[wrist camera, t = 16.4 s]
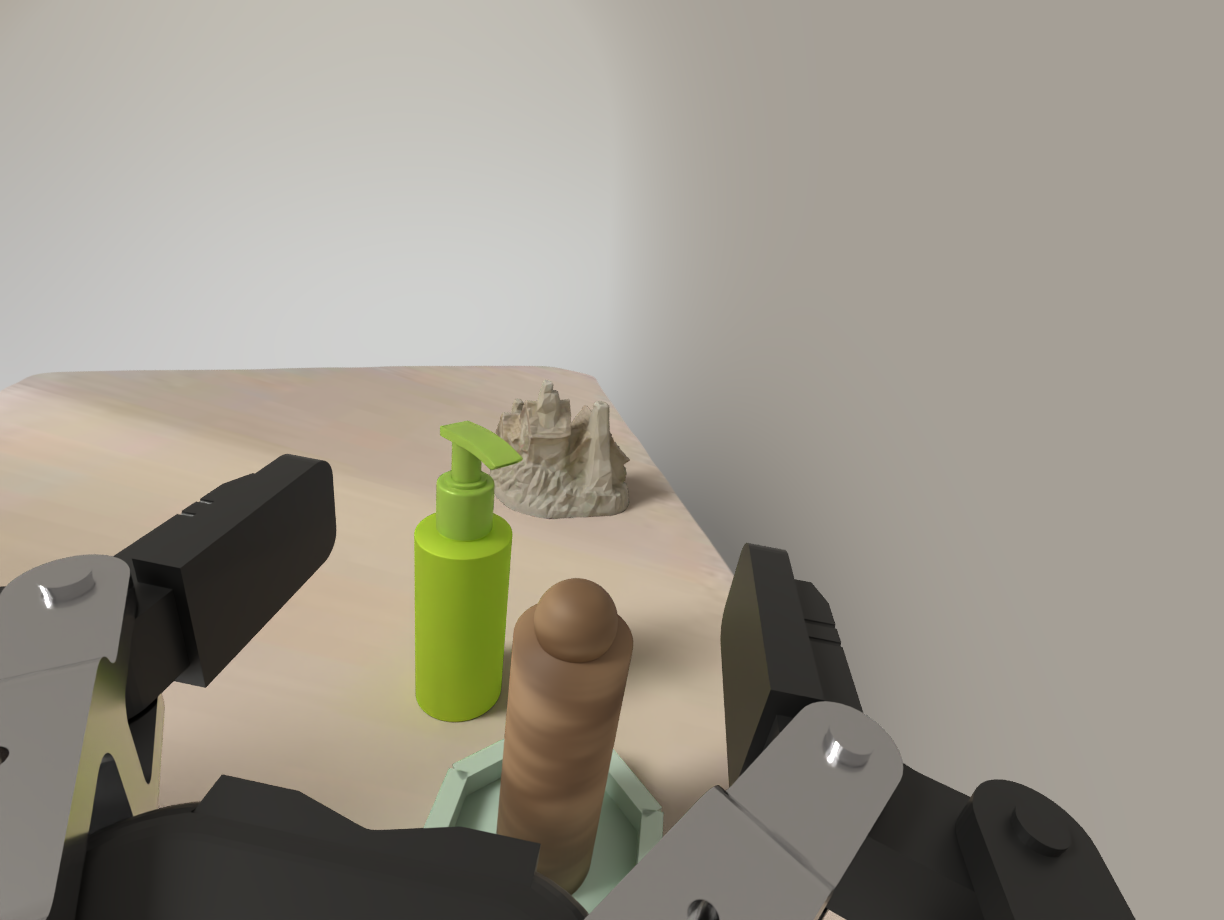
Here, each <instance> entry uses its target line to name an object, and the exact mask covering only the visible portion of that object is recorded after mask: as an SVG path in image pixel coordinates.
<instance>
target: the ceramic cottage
mask: <svg viewBox="0 0 1224 920" xmlns="http://www.w3.org/2000/svg"><path fill="white" fill-rule="evenodd" d="M523 405H524V406H523ZM609 430H610V426H609V405H608V404H607V403H606V402H602V401H596V402H595V403H594V405H593V409H592V411H591V410H590V409H589V407H588V406H586V405H585V406H584V407H583V408H582V410H581V411H580V412H579V413H578V414H577V416H576V417H575V418H574V420H573V421H572V422H571V412H570V400H569V399H566V400H560V398H559V394H558V391H556V390H553V383H552V382H551V381H548V380H544V381H543V384H542V387H541V390H540V393H539V396H538V400H537V401H529V400H526V401H525V403H523V401H522V400H521V399H515V400H514V402H513V406H512V411H511V413H507V412H503V413H502V415H501V417H500V422H499V424H498V427H497V429H496V434H497V435H498V436H499V437H501V438H502V439H503V440H505V441H506V442H507V443H508V444H509V445H510V446H511V447H512V448H513V449H515V450H516V451H517V453H518V454H519V455H520V456H521V457H522V458H523V460H522V461H521V462H519V463H516V464H513V465H509V466H506V467H502V468H499V469H495V470H490V474H489V475H490V476H491V477H492V478H493V480H494V483H495V490H494V492H495V495H496V496H497V498H498V499H499V500H500V501H501V502H503V503H504V505H505V506H507V507H508V508H510V509H512V510H514V511H517V512H520V513H523V514H526V515H530V516H534V517H539V518H546V519H548V518H552V519H557V518H569V517H572V518H575V517H591V516H592V517H594V516H611V515H616V514H618V513H621V512H623V511H625V509H626V508H627V507H628V503H629V499H628V488H627V484H626V483H625V482H624V481H625V478H626V468H625V467H624V464H625V463H627V462H628V461H630V459H629V458H628V457H626V455H625V454H624V453H623V452H622V451H621V450H620V448H619V446H618V445H617V444H616V442H614V440H613V438H612V437H611V436H612V434H611V433H610V431H609Z"/></svg>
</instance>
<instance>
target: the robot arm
mask: <svg viewBox="0 0 1224 920" xmlns="http://www.w3.org/2000/svg"><path fill="white" fill-rule="evenodd" d="M335 538H336V517H335V502H334V487H333V474H332V469H331V466H330V465H329V463H328V462H326V461H323V460H317V459H312V458H307V457H302V456H296V455H291V454H284V455H282V456H280V457H278V458H277V459H276V460H274V461H273V462H271V463H270V464H268V465H267V466H265V467H264V468H262V469H261V470H260V471H258V472H257V473H255V474H254V473H252V474H249V475H246V476H243V477H241V478H238V479H235V480H232V481H230V482H227V483H224V484H222V485H220V486H219V487H217V488H216V489H214V490H213V491H211V492H210V493H208V494H207V495H205V496H204V497H202V498H201V499H200V502H195V503H193V504H192V505H190V506H189V507H187V508H186V509H184V510H183V511H182V513H181V515H179V514H177V515H175V516H174V517H172V518H170V519H169V520H167V521H166V522H164V523H163V524H161V525H160V526H158V527H157V528H155V529H154V530H152V531H151V532H149V533H148V534H146V535H145V536H143V537H142V538H140V539H139V540H137V541H136V542H134V543H133V544H131V545H130V546H128V547H127V548H125V549H124V550H122V551H121V552H119V553H118V554H116V555H115V556H108V555H96V554H95V555H79V556H72V557H67V558H62V559H59V560H55V561H51V562H48V563H45V564H42V565H40V566H38V567H35V568H33V569H31V570H29V571H27V572H25V573H23V574H21V575H20V576H18V577H17V578H15V579H14V580H13V581H11V582H10V583H9V584H8V585H7V586H6V587H0V920H823V919H824V917H825V916H826V914H827V912H828V911H829V910H831V911H832V912H834V913H836V914H838V915H839V916H841V917H843V918H845V919H846V920H1135V918H1134V916H1133V914H1132V912H1131V910H1130V908H1129V907H1128V905H1127V903H1126V901H1125V899H1124V897H1123V896H1122V894H1121V892H1120V890H1119V888H1118V886H1117V885H1116V883H1115V881H1114V879H1113V877H1112V875H1111V874H1110V872H1109V870H1108V868H1107V866H1106V864H1105V862H1104V861H1103V859H1102V857H1101V855H1100V853H1099V851H1098V850H1097V848H1096V846H1095V845H1094V843H1093V841H1092V840H1091V838H1090V837H1089V836H1088V835H1087V833H1086V832H1085V831H1084V829H1083V828H1082V827H1081V826H1080V825H1079V824H1078V823H1077V822H1076V821H1075V820H1074V819H1073V818H1072V817H1071V816H1070V815H1069V814H1068V813H1067V812H1066V811H1065V810H1063V809H1062V808H1061V807H1060V806H1058V805H1057V804H1056V803H1054V802H1053V801H1052V800H1050V799H1048V798H1047V797H1045V796H1044V795H1042V794H1040V793H1039V792H1037V791H1035V790H1033V789H1031V788H1029V787H1026V786H1024V785H1022V784H1019V783H1015V782H1012V781H1007V780H989V781H986V782H983V783H981V784H980V785H979V786H978V787H977V788H976V790H975V791H974V793H973V794H972V796H971V797H969V796H967V795H965V794H963V793H960V792H958V791H956V790H954V789H952V788H950V787H948V786H946V785H944V784H942V783H939V782H937V781H935V780H933V779H931V778H929V777H927V776H924V775H923V774H921V773H918V772H917V771H915V770H913V769H912V768H910V767H909V766H906V765H905V764H903V762H902V758H901V755H900V752H899V750H898V748H897V746H896V744H895V743H894V741H893V740H892V738H891V737H890V736H889V734H888V733H887V732H886V731H885V730H884V729H883V728H882V727H881V726H880V725H879V724H878V723H877V722H875V721H874V720H872V719H871V718H870V717H868V716H867V715H865V714H864V713H863V711H862V707H861V704H860V701H859V698H858V695H857V692H856V688H855V685H854V682H853V679H852V676H851V673H850V669H849V666H848V663H847V660H846V657H845V654H844V650H843V648H842V647H841V646H840V645H841V641H840V638H839V635H838V631H837V629H835V622H834V619H833V616H832V613H831V609H830V606H829V603H828V602H827V601H826V600H825V598H824V597H823V596H822V595H821V594H820V592H819V591H818V590H817V589H816V588H815V586H814V585H813V584H812V583H811V582H806V581H800V580H795V579H794V576H793V572H792V568H791V564H790V560H789V556H788V553H787V551H786V550H781V549H776V548H771V547H766V546H760V545H755V544H750V543H746V544H745V545H744V547H743V548H742V551H741V555H740V558H739V561H738V564H737V568H736V571H735V574H734V578H733V581H732V585H731V588H730V591H729V595H728V598H727V602H726V605H725V609H724V613H723V618H722V625H721V657H722V674H723V691H724V707H725V724H726V741H727V758H728V775H729V789H727V790H726V791H725V790H724V789H723V788H722V787H720V786H719V785H717V786H714V787H713V788H711V789H710V790H708V791H707V792H706V793H705V794H704V795H703V796H702V797H701V798H700V799H699V800H698V801H697V802H696V803H695V804H694V805H693V806H692V807H691V808H690V809H689V810H688V811H687V812H686V813H685V815H684V816H683V817H682V818H681V819H680V820H679V821H678V822H677V823H676V824H675V825H674V826H673V827H672V828H671V829H670V830H669V831H668V832H667V833H666V834H665V835H664V836H663V837H662V839H661V840H660V841H659V842H658V843H657V844H656V845H655V846H654V847H653V848H652V849H651V850H650V851H649V852H648V853H647V854H646V855H645V856H644V857H643V858H642V859H641V860H640V861H639V863H638V864H637V865H636V866H635V867H634V868H633V869H632V870H631V871H630V872H629V873H628V874H627V875H626V876H625V877H624V878H623V879H622V880H621V881H620V882H619V883H618V884H617V885H616V887H615V888H614V889H613V890H612V891H611V892H610V893H609V894H608V895H607V896H606V897H605V898H604V899H603V900H602V901H601V902H600V903H599V904H598V905H597V906H596V907H595V908H594V909H593V911H592V912H591V913H590V914H589V913H588V912H587V911H586V909H585V908H584V907H583V906H582V905H581V904H580V903H579V902H578V901H577V900H576V899H575V898H574V897H573V896H572V895H571V894H570V893H569V892H567V891H566V890H565V889H563V888H562V887H561V886H559V885H558V884H557V883H555V882H554V881H553V880H551V879H549V878H547V877H546V876H544V875H542V874H540V873H539V872H537V865H538V859H539V852H540V846H541V844H540V843H536V842H531V841H526V840H522V839H517V838H513V837H508V836H503V835H499V834H494V833H490V832H485V831H480V830H476V829H471V828H467V827H462V826H457V827H436V828H415V829H394V830H370V829H366V828H364V827H361V826H360V825H358V824H356V823H354V822H353V821H351V820H349V819H347V818H345V817H344V816H342V815H340V814H338V813H337V812H335V811H333V810H331V809H330V808H328V807H326V806H324V805H323V804H321V803H319V802H317V801H316V800H314V799H312V798H310V797H308V796H307V795H305V794H303V793H301V792H300V791H296V790H291V789H287V788H282V787H278V786H273V785H268V784H264V783H259V782H255V781H250V780H245V779H241V778H236V777H232V776H227V775H221V777H220V778H219V779H218V780H217V782H216V783H215V784H214V786H213V787H212V788H211V789H210V791H209V792H208V793H207V794H206V796H205V797H204V798H203V800H202V801H201V802H190V803H184V804H177V805H171V806H167V807H163V808H159V809H158V799H159V784H160V769H161V755H162V740H163V726H164V711H165V705H164V699H163V695H162V692H163V691H164V690H165V689H166V688H167V687H168V686H169V685H170V684H171V683H172V682H173V681H176V682H181V683H186V684H191V685H195V686H200V687H205V688H206V687H207V686H208V685H209V684H210V683H211V682H212V680H213V679H214V678H215V677H216V676H217V675H218V674H219V673H220V672H221V671H222V670H223V669H224V668H225V667H226V666H227V665H228V664H229V663H230V661H231V660H232V659H233V658H234V657H235V656H236V655H237V654H238V653H239V652H240V651H241V650H242V649H243V648H244V647H245V646H246V645H247V643H248V642H249V641H250V640H251V639H252V638H253V637H254V636H255V635H256V634H257V633H258V632H259V631H260V630H261V629H262V628H263V627H264V626H265V624H266V623H267V622H268V621H269V620H270V619H271V618H272V617H273V616H274V615H275V614H276V613H277V612H278V611H279V610H280V609H281V608H282V607H283V605H284V604H285V603H286V602H287V601H288V600H289V599H290V598H291V597H292V596H293V595H294V594H295V593H296V592H297V591H298V590H299V589H300V588H301V586H302V585H303V584H304V583H305V582H306V581H307V580H308V579H309V578H310V577H311V576H312V575H313V574H314V573H315V572H316V571H317V570H318V568H319V567H320V566H321V565H322V564H323V563H324V562H325V561H326V560H327V558H328V557H329V555H330V553H331V551H332V549H333V546H334V543H335Z"/></svg>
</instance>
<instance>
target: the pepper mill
mask: <svg viewBox="0 0 1224 920" xmlns="http://www.w3.org/2000/svg"><path fill="white" fill-rule="evenodd" d="M632 650H633V637H632V634H631V631H630V629H629V627H628V625H627V624H626V622H625V621H624V620H623V619H622V618H621V617H620V616H619V615H618V614H617V610H616V607H615V604H614V602H613V600H612V598H611V597H610V595H609V594H608V593H607V592H606V591H605V590H604V589H603V588H602V587H601V586H599V585H598V584H596V583H594V582H592V581H589V580H586V579H580V578H573V579H567V580H564V581H561V582H559V583H557V584H555V585H553V586H552V587H551V588H549V589H548V590H547V591H546V592H545V593H544V595H543V596H542V597H541V599H540V601H539V602H538V604H536V605H534V606H532V607H530V608H529V609H528V610H526V611H525V612H524V613H523V614H522V615H521V616H520V618H519V619H518V621H517V623H516V625H515V628H514V634H513V645H512V657H511V668H510V680H509V691H508V703H507V714H506V726H505V738H504V749H503V761H502V772H501V784H500V795H499V807H498V818H497V830H496V834H499V835H503V836H508V837H513V838H517V839H522V840H526V841H531V842H536V843H540V844H541V846H540V852H539V859H538V865H537V872H539V873H540V874H542V875H544V876H546V877H547V878H549V879H551V880H553V881H554V882H555V883H557V884H558V885H559V886H561V887H562V888H563V889H565V890H566V891H567V892H569V893H570V894H571V895H572V894H573V893H575V892H576V891H577V890H578V889H579V887H580V886H581V885H582V883H583V882H584V880H585V878H586V877H587V874H588V872H589V869H590V864H591V859H592V854H593V849H594V844H595V839H596V834H597V829H598V824H599V819H600V813H601V808H602V803H603V798H604V793H605V788H606V783H607V778H608V773H609V767H610V762H611V757H612V752H613V747H614V742H615V737H616V732H617V726H618V721H619V716H620V711H621V706H622V701H623V696H624V691H625V686H626V680H627V675H628V670H629V665H630V660H631V655H632Z"/></svg>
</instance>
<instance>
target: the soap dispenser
mask: <svg viewBox="0 0 1224 920" xmlns="http://www.w3.org/2000/svg"><path fill="white" fill-rule="evenodd" d="M440 436H442V437H444V438H446V439H448V440H450V441H451V442H452V470H451V471H448V472H446V473H444V474H442V475H441V476H440V477H439V478H438V479H437V485H436V513H434V514H431V515H429V516H428V517H426V518H424V519H423V520H422V521H421V522H420V523H419V524H418V525H417V527H416V529H415V533H414V551H415V681H416V699H417V702H418V704H419V706H420V707H421V708H422V710H423V711H424V712H426V713H427V714H428V715H430V716H432V717H434V718H436V719H439V720H442V721H449V722H460V721H466V720H470V719H473V718H476V717H478V716H480V715H482V714H484V713H485V712H487V711H488V710H489V709H490V708H491V707H492V706H493V705H494V704H495V703H496V701H497V700H498V698H499V695H500V692H501V684H502V670H503V656H504V643H505V629H506V615H507V601H508V587H509V574H510V560H511V546H512V529H511V527H510V525H509V524H508V523H507V522H506V521H505V520H504V519H503V518H501V517H500V516H498V515H496V514H494V513H493V508H494V490H495V483H494V480H493V478H492V477H491V476H490V475H488V474H486V473H484V472H482V471H481V461H482V462H483V463H484V464H485V465H486V466H487V467H488V468H489V469H490V470H495V469H499V468H502V467H506V466H509V465H513V464H516V463H519V462H521V461H522V460H523V458H522V457H521V456H520V455H519V454H518V453H517V451H516V450H515V449H513V448H512V447H511V446H510V445H509V444H508V443H507V442H506V441H505V440H503V439H502V438H501V437H499V436H498V435H496V434H495V433H493V432H491V431H489V430H487V429H485V428H483V427H481V426H479V425H477V424H475V423H472V422H470V421H464V422H459V423H454V424H449V425H444V426H440Z"/></svg>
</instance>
